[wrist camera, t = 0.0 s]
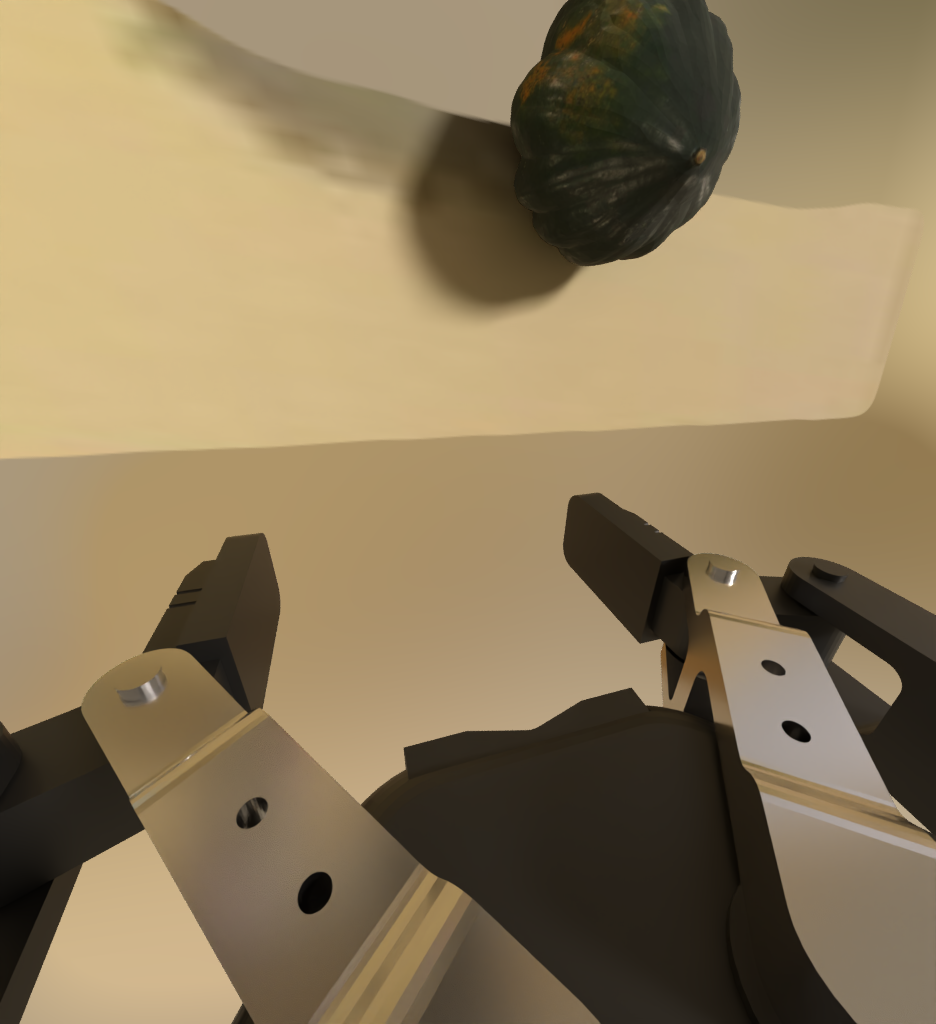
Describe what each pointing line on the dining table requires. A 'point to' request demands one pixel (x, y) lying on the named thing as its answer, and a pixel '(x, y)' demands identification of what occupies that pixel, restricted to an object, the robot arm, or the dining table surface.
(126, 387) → the dining table surface
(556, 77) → the squash
